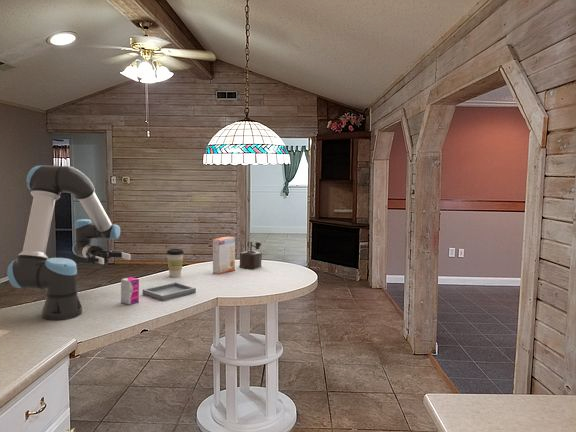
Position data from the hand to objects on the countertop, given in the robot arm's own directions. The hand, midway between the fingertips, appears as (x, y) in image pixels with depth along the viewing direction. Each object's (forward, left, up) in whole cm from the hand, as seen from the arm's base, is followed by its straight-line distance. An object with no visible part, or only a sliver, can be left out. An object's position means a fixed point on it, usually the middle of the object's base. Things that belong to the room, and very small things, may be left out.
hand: (117, 259), depth 215 cm
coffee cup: (+47, +17, -19) cm, 53 cm away
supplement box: (0, -11, -19) cm, 22 cm away
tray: (+22, -11, -19) cm, 31 cm away
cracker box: (+74, +5, -19) cm, 76 cm away
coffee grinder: (+95, 0, -19) cm, 97 cm away
